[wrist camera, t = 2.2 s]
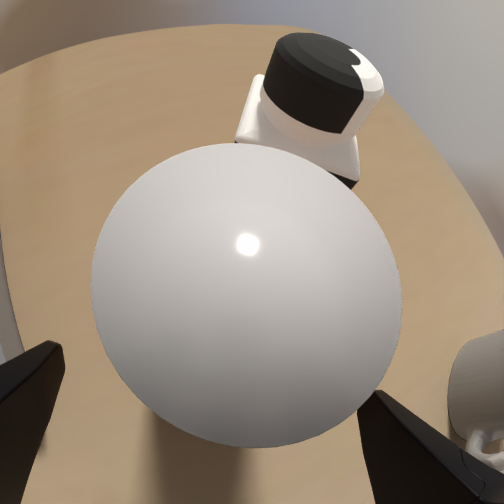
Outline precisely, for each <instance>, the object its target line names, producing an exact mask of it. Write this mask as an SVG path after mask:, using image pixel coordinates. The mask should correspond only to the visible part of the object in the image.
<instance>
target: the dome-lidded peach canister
mask: <svg viewBox="0 0 504 504" xmlns="http://www.w3.org/2000/svg"><path fill="white" fill-rule="evenodd" d="M91 299H92V309H93V314H94V318H95V322H96V326H97V331H98V333H99V336H100V339H101V341H102V344H103V346H104V349H105V351H106V353H107V355H108V357H109V359H110V361H111V362H112V364H113V366H114V367H115V369H116V371H117V372H118V374H119V376H120V377H121V378H122V380H123V381H124V382H125V383H126V385H127V386H128V387H129V388H130V389H131V391H132V392H133V393H134V394H135V395H136V397H137V398H139V399H140V400H141V401H142V402H143V403H144V404H145V405H146V406H147V407H149V408H150V409H151V410H152V411H153V412H154V413H156V414H157V415H158V416H160V417H161V418H163V419H164V420H166V421H167V422H169V423H171V424H172V425H174V426H175V427H177V428H179V429H181V430H183V431H185V432H187V433H190V434H192V435H194V436H196V437H199V438H201V439H204V440H208V441H211V442H215V443H219V444H223V445H227V446H235V447H244V448H269V447H279V446H284V445H289V444H294V443H299V442H302V441H304V440H307V439H310V438H312V437H315V436H318V435H320V434H322V433H324V432H326V431H328V430H329V429H331V428H333V427H335V426H337V425H338V424H340V423H341V422H342V421H344V420H345V419H346V418H348V417H349V416H350V415H352V414H353V413H354V412H355V411H356V410H357V409H358V408H359V407H360V406H361V405H362V404H363V403H364V402H365V401H366V400H367V399H368V398H369V397H370V396H371V394H372V393H373V392H374V390H375V389H376V387H377V386H378V385H379V383H380V382H381V380H382V378H383V377H384V375H385V373H386V371H387V369H388V367H389V365H390V363H391V360H392V358H393V355H394V352H395V349H396V346H397V342H398V338H399V333H400V328H401V318H402V292H401V285H400V278H399V273H398V270H397V266H396V262H395V259H394V256H393V253H392V251H391V248H390V246H389V243H388V241H387V239H386V237H385V235H384V233H383V231H382V229H381V227H380V226H379V224H378V223H377V221H376V220H375V218H374V217H373V215H372V214H371V212H370V211H369V210H368V209H367V207H366V206H365V205H364V204H363V203H362V201H361V200H360V199H359V198H358V197H357V196H356V195H355V194H354V193H353V192H352V191H351V190H350V189H349V188H348V187H347V186H346V185H344V184H343V183H342V182H341V181H340V180H338V179H337V178H336V177H335V176H333V175H332V174H330V173H329V172H327V171H326V170H324V169H323V168H321V167H319V166H317V165H316V164H314V163H312V162H310V161H308V160H306V159H304V158H302V157H299V156H297V155H294V154H292V153H289V152H286V151H283V150H279V149H276V148H272V147H267V146H261V145H255V144H243V143H228V144H216V145H209V146H203V147H199V148H196V149H192V150H188V151H185V152H183V153H180V154H178V155H175V156H173V157H170V158H169V159H167V160H165V161H163V162H161V163H159V164H158V165H156V166H154V167H153V168H152V169H150V170H149V171H147V172H146V173H145V174H143V175H142V176H141V177H140V178H139V179H137V180H136V181H135V182H134V183H133V184H132V185H131V186H130V187H129V188H128V189H127V190H126V191H125V193H124V194H123V195H122V196H121V198H120V199H119V200H118V202H117V203H116V204H115V206H114V207H113V209H112V211H111V212H110V214H109V216H108V218H107V219H106V221H105V223H104V226H103V228H102V231H101V233H100V236H99V238H98V241H97V244H96V249H95V253H94V257H93V262H92V272H91Z"/></svg>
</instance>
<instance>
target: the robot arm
mask: <svg viewBox="0 0 504 504" xmlns="http://www.w3.org/2000/svg"><path fill="white" fill-rule="evenodd" d="M64 373H65V362H64V355H63V349H62V346H61V344H59V343H56V342H53V341H50V340H47V341H45V342H43V343H41V344H39V345H37V346H35V347H33V348H32V349H30V350H28V351H26V352H24V353H22V354H20V355H18V356H16V357H14V358H12V359H10V360H9V361H7V362H5V363H3V364H1V365H0V504H21V500H22V497H23V494H24V490H25V487H26V484H27V481H28V478H29V475H30V472H31V469H32V466H33V463H34V460H35V457H36V454H37V452H38V449H39V446H40V444H41V441H42V438H43V436H44V433H45V431H46V428H47V426H48V423H49V421H50V418H51V415H52V412H53V409H54V405H55V402H56V398H57V395H58V392H59V389H60V385H61V382H62V379H63V376H64ZM357 417H358V423H359V430H360V436H361V443H362V449H363V454H364V459H365V463H366V467H367V471H368V475H369V479H370V483H371V487H372V491H373V495H374V499H375V504H504V474H503V473H501V472H499V471H497V470H496V469H494V468H492V467H490V466H488V465H487V464H485V463H483V462H482V461H480V460H478V459H477V458H475V457H474V456H472V455H471V454H469V453H468V452H466V451H465V450H463V449H462V448H459V446H458V445H456V444H455V443H453V442H452V441H451V440H449V439H448V438H446V437H445V436H444V435H442V434H441V433H440V432H438V431H437V430H435V429H434V428H433V427H431V426H430V425H428V424H427V423H426V422H424V421H423V420H422V419H420V418H419V417H418V416H416V415H415V414H413V413H412V412H411V411H409V410H408V409H407V408H405V407H404V406H403V405H401V404H400V403H399V402H397V401H396V400H395V399H393V398H392V397H391V396H389V395H388V394H387V393H385V392H384V391H382V390H374V392H373V393H372V394H371V396H370V397H369V398H368V399H367V400H366V401H365V402H364V403H363V404H362V405H361V406H360V407H359V408H358V409H357Z"/></svg>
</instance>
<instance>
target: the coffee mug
mask: <svg viewBox="0 0 504 504" xmlns="http://www.w3.org/2000/svg"><path fill="white" fill-rule="evenodd" d="M448 411H449V417H450V421H451V424H452V426H453V428H454V430H455V432H456V433H457V434H458V436H460V437H461V438H462V439H465V440H467V442H466V446H465V451H466V452H468V453H469V454H471V455H472V456H474V457H475V458H477V459H478V460H480V461H482V462H483V463H485V464H487V465H488V466H490V467H492V468H494V469H496V470H497V471H502V470H504V450H503V451H501V452H498V453H493V454H484V453H482V450H483V448H484V447H485V446H486V445H487V444H488V443H490V442H492V441H494V440H498V439H504V329H503V330H501V331H498V332H495V333H492V334H489V335H486V336H483V337H480V338H477V339H474V340H471V341H469V342H467V343H466V344H465V345H464V346H463V347H462V349H461V350H460V352H459V353H458V355H457V357H456V359H455V361H454V364H453V367H452V371H451V375H450V379H449V386H448Z"/></svg>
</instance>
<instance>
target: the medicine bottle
mask: <svg viewBox="0 0 504 504" xmlns="http://www.w3.org/2000/svg"><path fill="white" fill-rule="evenodd" d="M383 94H384V85H383V81H382V78H381V76H380V74H379V73H378V71H377V70H376V69H375V68H374V67H373V65H372V64H371V63H370V62H369V61H368V60H367V59H366V58H365V57H364V56H362V55H361V54H360V53H359V52H357V51H356V50H354V49H353V48H351V47H350V46H348V45H346V44H344V43H342V42H340V41H338V40H335V39H333V38H330V37H327V36H323V35H319V34H314V33H291V34H288V35H286V36H284V37H282V38H280V39H279V40H278V41H277V43H276V46H275V49H274V51H273V54H272V57H271V60H270V63H269V65H268V68H267V71H266V74H265V76H264V75H260V74H259V75H256V76H255V77H254V79H253V82H252V85H251V88H250V91H249V94H248V97H247V100H246V103H245V107H244V110H243V113H242V116H241V119H240V123H239V126H238V129H237V132H236V136H235V139H234V143H243V144H255V145H261V146H267V147H272V148H276V149H279V150H283V151H286V152H289V153H292V154H294V155H297V156H299V157H302V158H304V159H306V160H308V161H310V162H312V163H314V164H316V165H317V166H319V167H321V168H323V169H324V170H326V171H327V172H329V173H330V174H332V175H333V176H335V177H336V178H337V179H338V180H340V181H341V182H342V183H343V184H344V185H346V186H347V187H348V188H349V189H350V190H351V189H352V188H353V187H354V185H355V184H356V183H357V182H358V181H359V179H360V165H359V155H358V147H357V138H356V133H357V132H358V130H359V129H360V127H361V126H362V125H363V123H364V122H365V120H366V119H367V117H368V116H369V114H370V113H371V111H372V110H373V109H374V107H375V106H376V104H377V103H378V101H379V100H380V98H381V97H382V95H383Z"/></svg>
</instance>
